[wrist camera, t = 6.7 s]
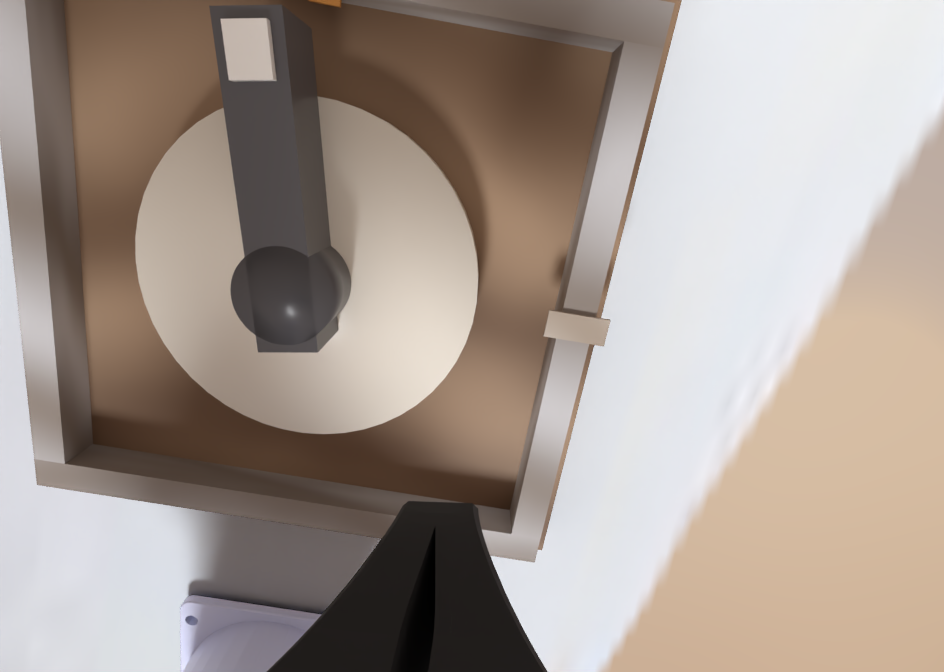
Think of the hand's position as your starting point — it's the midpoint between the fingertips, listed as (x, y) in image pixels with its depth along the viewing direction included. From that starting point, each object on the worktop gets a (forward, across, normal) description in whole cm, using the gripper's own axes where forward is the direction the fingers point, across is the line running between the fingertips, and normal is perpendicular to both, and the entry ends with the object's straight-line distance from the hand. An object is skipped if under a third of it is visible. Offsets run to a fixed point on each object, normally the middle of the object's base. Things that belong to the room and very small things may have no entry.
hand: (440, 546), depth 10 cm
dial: (+8, +5, -4) cm, 10 cm away
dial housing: (+9, +4, -4) cm, 11 cm away
